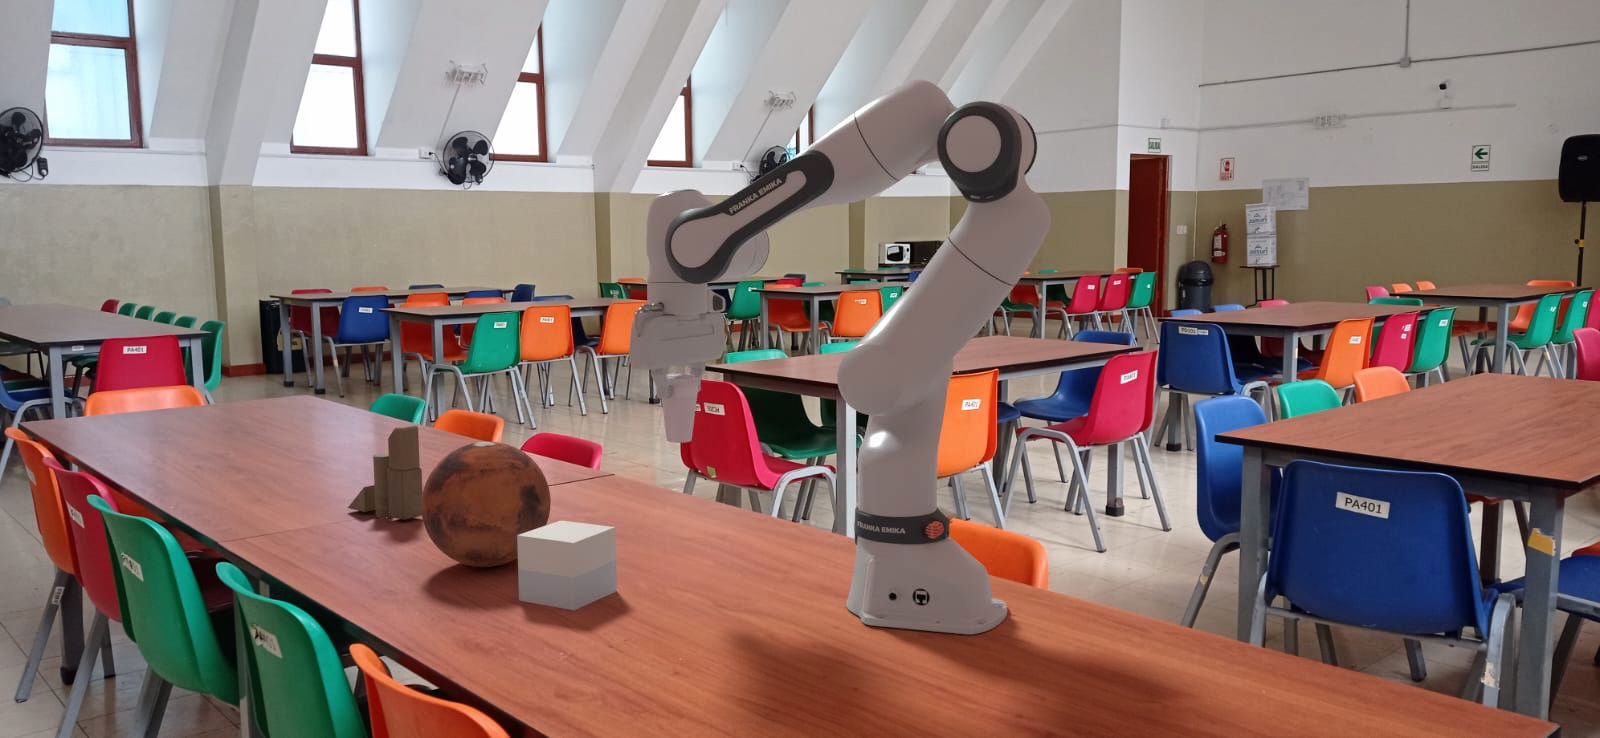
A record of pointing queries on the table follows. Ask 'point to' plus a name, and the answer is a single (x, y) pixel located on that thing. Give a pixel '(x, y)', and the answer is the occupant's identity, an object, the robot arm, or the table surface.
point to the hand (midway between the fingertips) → (679, 394)
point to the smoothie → (680, 406)
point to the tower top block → (566, 548)
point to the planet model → (484, 503)
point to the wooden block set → (395, 479)
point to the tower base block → (567, 587)
